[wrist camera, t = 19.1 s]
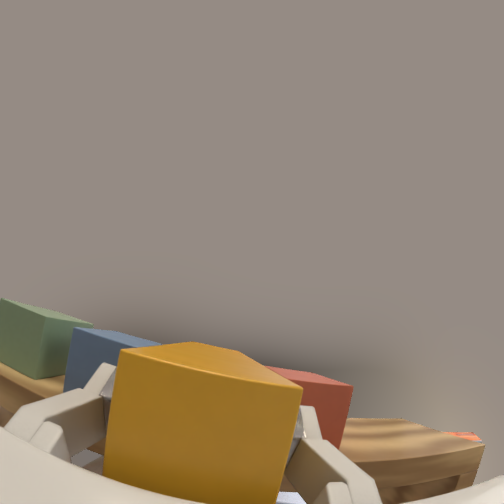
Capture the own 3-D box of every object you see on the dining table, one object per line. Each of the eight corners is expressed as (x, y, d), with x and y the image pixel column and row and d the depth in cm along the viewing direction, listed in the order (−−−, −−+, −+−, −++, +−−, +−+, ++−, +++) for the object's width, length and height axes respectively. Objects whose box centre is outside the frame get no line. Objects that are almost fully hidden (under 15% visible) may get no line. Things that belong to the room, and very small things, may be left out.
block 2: (125, 415, 14) (137, 346, 15) (62, 392, 14) (73, 326, 15) (153, 392, 22) (162, 344, 23) (106, 378, 22) (115, 331, 23)
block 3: (339, 450, 15) (353, 386, 16) (271, 446, 15) (286, 378, 16) (303, 419, 22) (313, 372, 24) (254, 413, 22) (264, 365, 23)
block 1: (35, 380, 14) (45, 316, 15) (-10, 356, 14) (0, 297, 15) (85, 370, 21) (94, 324, 23) (46, 355, 21) (55, 310, 22)
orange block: (266, 533, 5) (304, 387, 6) (99, 499, 5) (119, 347, 6) (230, 396, 24) (239, 351, 25) (182, 386, 24) (192, 341, 25)
